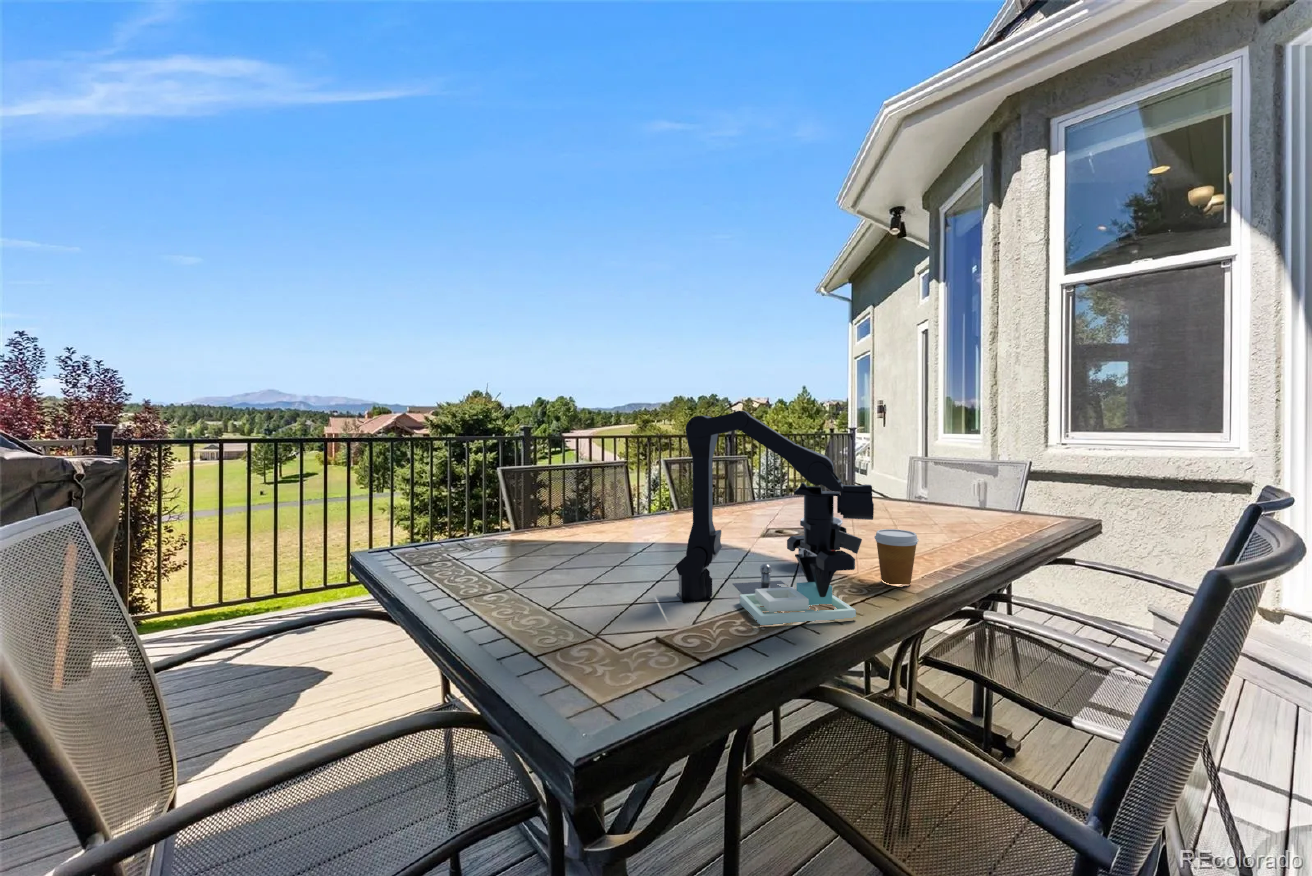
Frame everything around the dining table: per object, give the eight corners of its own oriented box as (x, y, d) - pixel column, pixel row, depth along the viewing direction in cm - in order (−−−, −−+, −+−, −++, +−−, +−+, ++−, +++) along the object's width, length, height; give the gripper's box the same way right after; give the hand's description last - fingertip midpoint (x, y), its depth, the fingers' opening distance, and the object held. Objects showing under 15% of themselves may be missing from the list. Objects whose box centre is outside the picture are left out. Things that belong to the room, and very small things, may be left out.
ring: (769, 612, 106) (769, 594, 106) (755, 598, 114) (755, 581, 114) (837, 607, 108) (837, 589, 108) (819, 594, 116) (819, 578, 116)
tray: (761, 628, 103) (761, 616, 103) (739, 604, 116) (739, 594, 116) (855, 621, 106) (855, 610, 106) (824, 599, 119) (824, 589, 119)
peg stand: (748, 601, 118) (748, 572, 117) (732, 585, 129) (732, 558, 129) (802, 598, 119) (802, 569, 119) (780, 582, 131) (780, 556, 131)
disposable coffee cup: (865, 581, 132) (865, 531, 131) (894, 575, 136) (894, 527, 135) (897, 592, 123) (898, 538, 123) (927, 586, 127) (928, 534, 127)
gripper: (881, 524, 103) (881, 607, 104) (834, 508, 121) (833, 578, 122) (825, 526, 101) (825, 610, 102) (786, 510, 120) (786, 581, 120)
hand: (818, 594), depth 111 cm, fingers closed on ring, 3 cm apart
